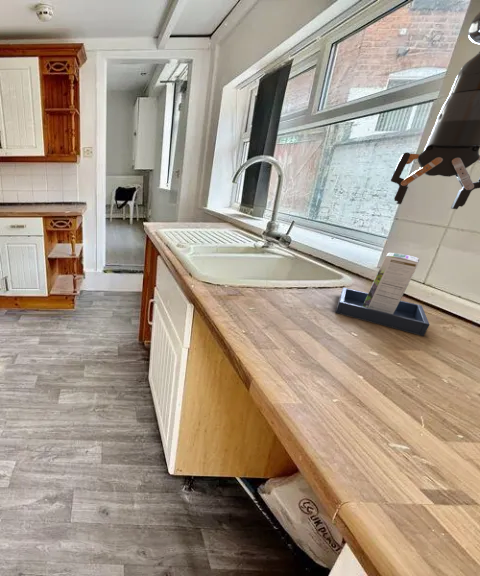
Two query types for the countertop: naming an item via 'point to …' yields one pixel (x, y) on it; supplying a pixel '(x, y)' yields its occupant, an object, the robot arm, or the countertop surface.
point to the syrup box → (391, 282)
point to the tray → (383, 313)
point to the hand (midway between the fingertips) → (425, 206)
